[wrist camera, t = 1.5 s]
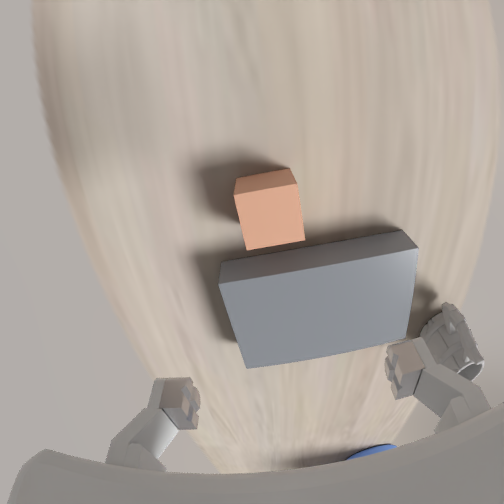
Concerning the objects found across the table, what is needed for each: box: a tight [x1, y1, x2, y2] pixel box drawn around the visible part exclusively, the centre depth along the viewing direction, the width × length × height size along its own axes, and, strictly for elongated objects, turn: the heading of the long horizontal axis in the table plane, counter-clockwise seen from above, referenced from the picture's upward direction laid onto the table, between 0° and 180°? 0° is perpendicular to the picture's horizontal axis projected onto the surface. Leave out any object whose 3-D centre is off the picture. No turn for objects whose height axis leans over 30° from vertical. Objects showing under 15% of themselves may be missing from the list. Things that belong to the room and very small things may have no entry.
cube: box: [234, 168, 305, 250], centre depth 26 cm, size 5×5×5 cm
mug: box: [420, 302, 485, 382], centre depth 32 cm, size 8×12×12 cm, turn 22°
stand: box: [218, 230, 419, 369], centre depth 33 cm, size 13×20×4 cm, turn 101°
